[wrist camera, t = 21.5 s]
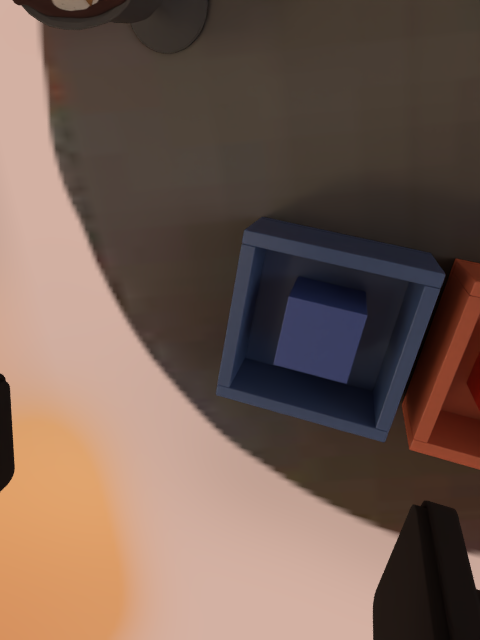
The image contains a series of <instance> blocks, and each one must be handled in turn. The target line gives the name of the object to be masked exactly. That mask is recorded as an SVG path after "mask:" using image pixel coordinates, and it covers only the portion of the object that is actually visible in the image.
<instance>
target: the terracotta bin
mask: <svg viewBox="0 0 480 640" xmlns="http://www.w3.org/2000/svg"><path fill="white" fill-rule="evenodd" d="M479 352H480V263H475V262H471V261H466V260H462V259H457V258H456V259H455V261H454V263H453V266H452V269H451V272H450V274H449V277H448V280H447V283H446V285H445V288H444V291H443V294H442V296H441V299H440V302H439V304H438V307H437V310H436V313H435V315H434V318H433V321H432V324H431V326H430V329H429V332H428V335H427V337H426V340H425V343H424V346H423V348H422V351H421V354H420V356H419V359H418V362H417V365H416V367H415V370H414V373H413V376H412V378H411V381H410V384H409V387H408V389H407V392H406V395H405V397H404V400H403V403H402V409H403V415H404V421H405V427H406V432H407V438H408V444H409V449H410V450H412V451H416V452H419V453H423V454H427V455H430V456H434V457H437V458H441V459H444V460H448V461H451V462H455V463H458V464H462V465H465V466H469V467H473V468H476V469H480V412H479V409H478V407H477V405H476V403H475V401H474V399H473V396H472V394H471V392H470V390H469V388H468V386H467V384H466V382H467V380H468V378H469V375H470V373H471V371H472V368H473V366H474V363H475V361H476V359H477V356H478V354H479Z"/></svg>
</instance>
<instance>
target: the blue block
mask: <svg viewBox="0 0 480 640" xmlns="http://www.w3.org/2000/svg"><path fill="white" fill-rule="evenodd" d="M366 319H367V301H366V292H364V291H360V290H355V289H351V288H347V287H343V286H338V285H334V284H330V283H325V282H321V281H317V280H313V279H308V278H304V277H300V276H298V277H297V279H296V281H295V284H294V286H293V288H292V290H291V292H290V294H289V297H288V301H287V305H286V310H285V314H284V319H283V323H282V328H281V332H280V336H279V341H278V345H277V350H276V354H275V359H274V363H273V364H274V365H277V366H281V367H285V368H288V369H292V370H296V371H300V372H303V373H307V374H311V375H315V376H318V377H322V378H326V379H330V380H334V381H337V382H341V383H345V384H347V381H348V378H349V375H350V372H351V368H352V365H353V362H354V358H355V355H356V352H357V348H358V345H359V342H360V339H361V335H362V332H363V329H364V325H365V322H366Z"/></svg>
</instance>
